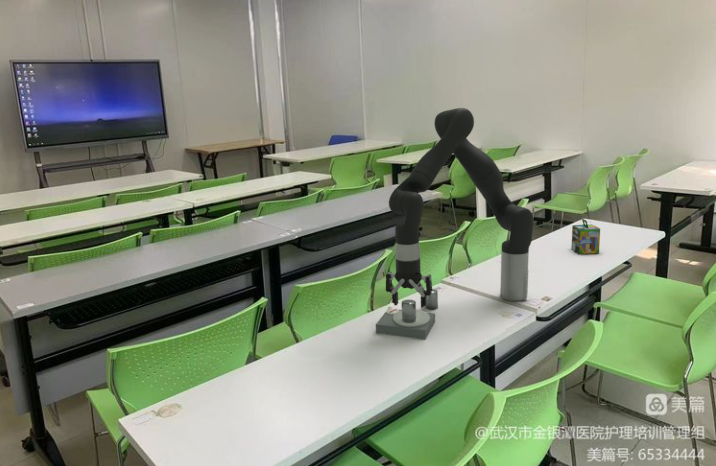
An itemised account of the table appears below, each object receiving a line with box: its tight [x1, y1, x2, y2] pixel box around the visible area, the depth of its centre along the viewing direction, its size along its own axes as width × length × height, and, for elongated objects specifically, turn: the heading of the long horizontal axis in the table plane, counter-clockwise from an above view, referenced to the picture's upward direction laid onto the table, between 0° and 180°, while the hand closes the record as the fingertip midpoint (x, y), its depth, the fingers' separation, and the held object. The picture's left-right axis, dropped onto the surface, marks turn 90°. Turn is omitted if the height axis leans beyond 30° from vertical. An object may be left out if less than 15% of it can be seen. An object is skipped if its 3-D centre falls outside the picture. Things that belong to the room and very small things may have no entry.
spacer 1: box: [401, 299, 417, 323], centre depth 165 cm, size 4×4×6 cm
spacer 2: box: [424, 288, 439, 311], centre depth 184 cm, size 4×4×6 cm
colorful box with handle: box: [570, 218, 601, 255], centre depth 235 cm, size 9×9×15 cm
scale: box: [375, 307, 436, 340], centre depth 170 cm, size 16×13×4 cm
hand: (409, 305), depth 165 cm, fingers open, 8 cm apart
